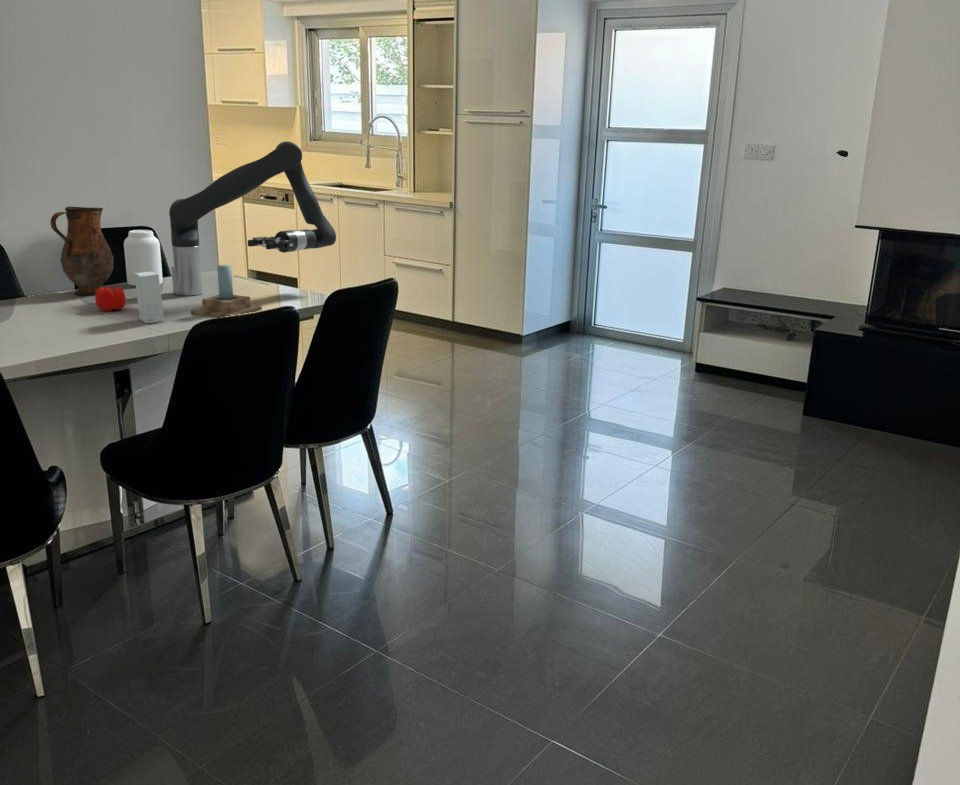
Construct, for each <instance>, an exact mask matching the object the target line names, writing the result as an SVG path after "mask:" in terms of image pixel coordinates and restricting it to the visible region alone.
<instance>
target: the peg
mask: <svg viewBox="0 0 960 785" xmlns="http://www.w3.org/2000/svg"><path fill="white" fill-rule="evenodd" d="M216 270H217V279H218V280H217V281H218V282H217V283H218V295H219V299H221V300H231V299H233V295H234V288H233V287H234V286H233V284H234V283H233V273H232V270H233V269H232V265H231V264H220V265H217V269H216Z"/></svg>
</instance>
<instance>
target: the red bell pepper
mask: <svg viewBox="0 0 960 785" xmlns="http://www.w3.org/2000/svg"><path fill="white" fill-rule="evenodd" d="M94 296H95V298H94V300H95V304H96V306H97V307H96V308H98V309H100V310H102V311H104V312H111V311H113V310H116V311H119V310H121V309H123V308H124V307H125V305H126V294H125V292H124V289H123V288H122V287H120V286H115V287H114V286H113V287H111V286H103V288H99V289H98V290H97V291H96V295H94Z"/></svg>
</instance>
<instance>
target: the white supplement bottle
mask: <svg viewBox="0 0 960 785" xmlns="http://www.w3.org/2000/svg"><path fill="white" fill-rule="evenodd" d="M127 235H128V236H127V237H126V238H125V239H124V241H123V248H124V249H123V250H124V251H123V252H124V259H125V270H126V280H127V285H130V286H133V287H136V284H135V276H134V273H141V272H154V273H156V274H158V275H159V283H160V285H161V284H163V279H164V278H163V267H162V266H163V265H162V256H161V244H160V240H159V239H158V238H157V237H156V236H154V232H153V230H150V229H133V230H129V231H128V234H127Z"/></svg>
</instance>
